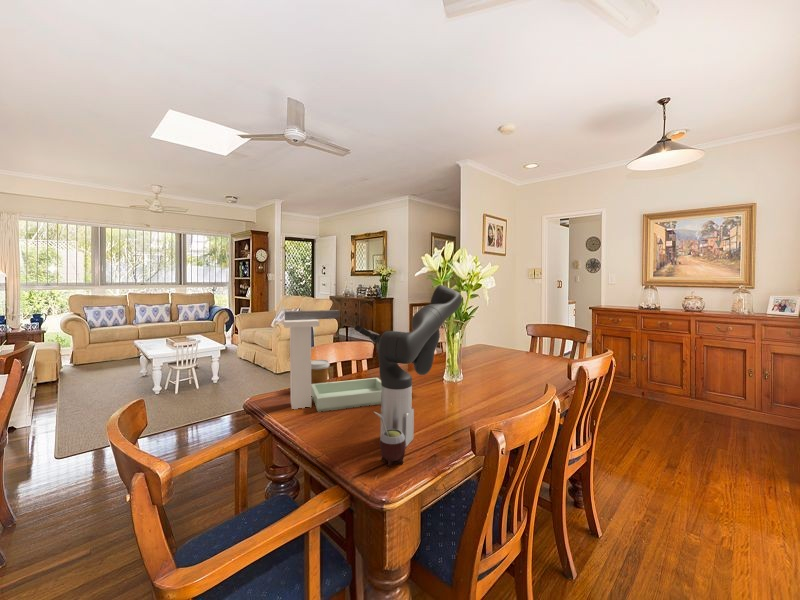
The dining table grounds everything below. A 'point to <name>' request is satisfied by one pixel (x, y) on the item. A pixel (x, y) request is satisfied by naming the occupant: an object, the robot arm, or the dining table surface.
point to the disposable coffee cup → (319, 371)
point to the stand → (300, 361)
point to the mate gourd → (392, 445)
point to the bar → (312, 315)
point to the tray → (346, 394)
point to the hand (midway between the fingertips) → (357, 328)
